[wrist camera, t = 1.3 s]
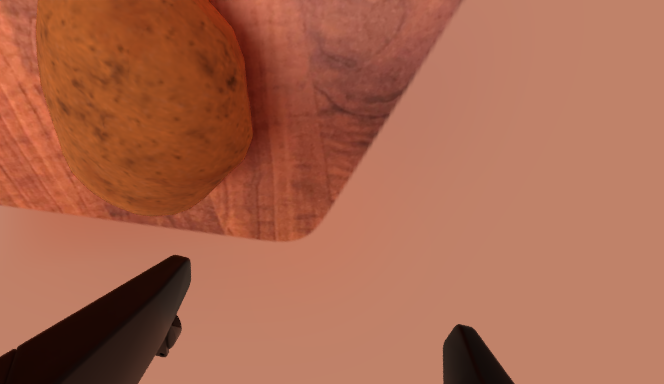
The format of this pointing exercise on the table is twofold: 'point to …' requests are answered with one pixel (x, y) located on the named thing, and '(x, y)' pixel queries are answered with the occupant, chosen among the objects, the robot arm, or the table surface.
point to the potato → (144, 98)
